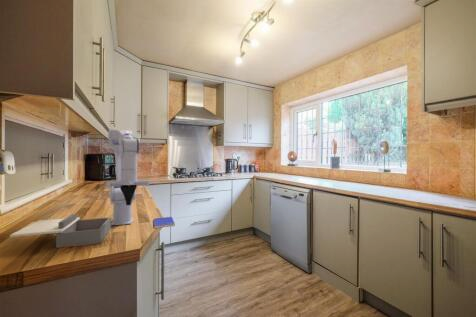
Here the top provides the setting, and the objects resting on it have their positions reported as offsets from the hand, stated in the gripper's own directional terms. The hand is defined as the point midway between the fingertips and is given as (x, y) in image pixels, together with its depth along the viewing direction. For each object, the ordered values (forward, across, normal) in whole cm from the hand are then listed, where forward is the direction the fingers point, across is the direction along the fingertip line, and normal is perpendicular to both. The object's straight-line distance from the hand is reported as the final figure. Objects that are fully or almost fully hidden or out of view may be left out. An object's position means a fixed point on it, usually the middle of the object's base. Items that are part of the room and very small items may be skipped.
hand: (128, 204), depth 82 cm
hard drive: (+11, +13, +8) cm, 19 cm away
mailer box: (+10, -13, -2) cm, 17 cm away
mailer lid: (+6, -24, -2) cm, 25 cm away
